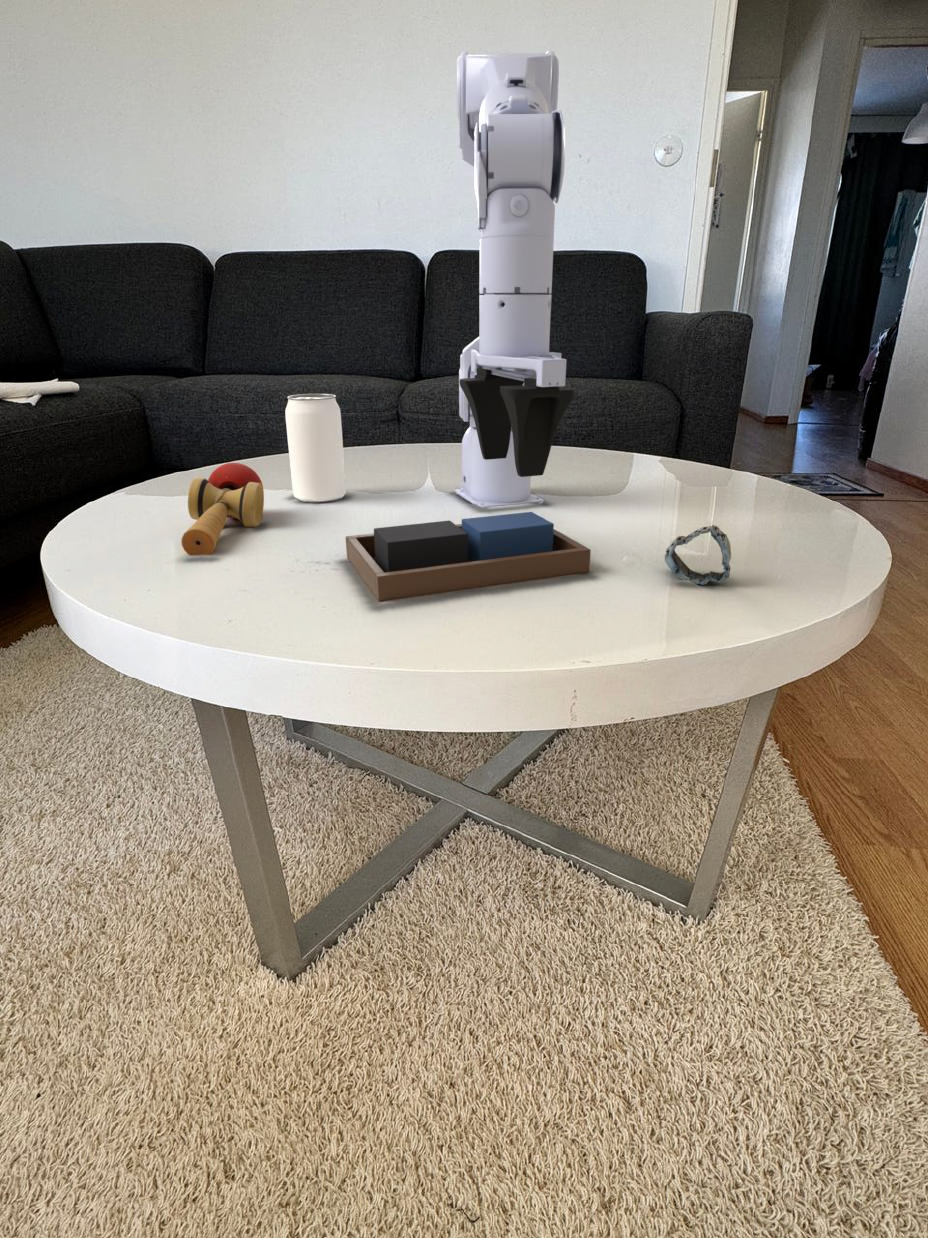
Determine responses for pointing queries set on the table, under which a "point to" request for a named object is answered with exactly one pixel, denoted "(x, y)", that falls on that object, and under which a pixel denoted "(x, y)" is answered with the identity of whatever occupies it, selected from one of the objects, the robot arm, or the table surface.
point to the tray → (465, 569)
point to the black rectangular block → (420, 546)
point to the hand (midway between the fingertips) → (511, 466)
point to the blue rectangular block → (507, 536)
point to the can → (315, 447)
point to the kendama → (222, 505)
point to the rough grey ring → (686, 574)
